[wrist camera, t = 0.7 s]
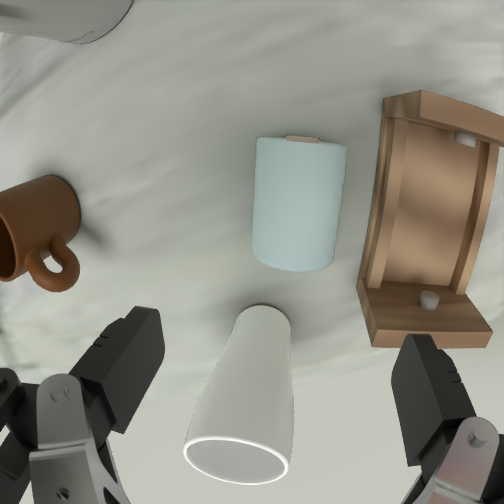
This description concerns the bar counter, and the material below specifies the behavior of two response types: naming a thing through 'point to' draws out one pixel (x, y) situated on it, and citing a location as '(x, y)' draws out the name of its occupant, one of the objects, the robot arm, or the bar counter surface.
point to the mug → (39, 232)
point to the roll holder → (428, 220)
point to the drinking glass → (247, 404)
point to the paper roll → (297, 202)
